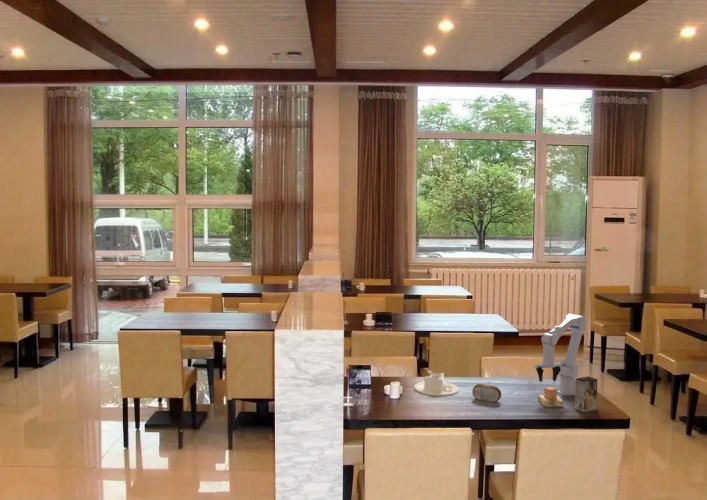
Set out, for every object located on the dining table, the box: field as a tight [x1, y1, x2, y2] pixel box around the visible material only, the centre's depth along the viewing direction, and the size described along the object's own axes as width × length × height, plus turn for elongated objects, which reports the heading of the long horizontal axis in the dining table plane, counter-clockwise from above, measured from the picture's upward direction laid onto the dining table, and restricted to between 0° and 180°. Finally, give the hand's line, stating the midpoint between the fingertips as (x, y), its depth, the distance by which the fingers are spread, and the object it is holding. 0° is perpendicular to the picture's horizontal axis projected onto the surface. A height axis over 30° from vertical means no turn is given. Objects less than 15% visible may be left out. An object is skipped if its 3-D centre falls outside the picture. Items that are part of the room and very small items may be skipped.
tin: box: [472, 383, 502, 403], centre depth 341 cm, size 15×3×8 cm, turn 65°
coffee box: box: [574, 376, 598, 413], centre depth 330 cm, size 9×6×16 cm
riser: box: [537, 394, 564, 408], centre depth 339 cm, size 10×10×3 cm
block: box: [543, 386, 558, 399], centre depth 339 cm, size 4×4×5 cm
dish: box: [413, 369, 460, 397], centre depth 360 cm, size 25×25×11 cm
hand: (547, 380), depth 344 cm, fingers open, 7 cm apart
